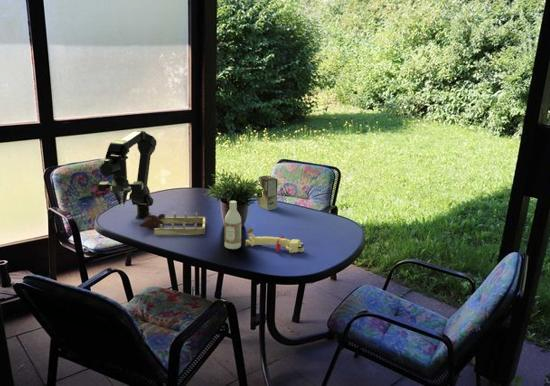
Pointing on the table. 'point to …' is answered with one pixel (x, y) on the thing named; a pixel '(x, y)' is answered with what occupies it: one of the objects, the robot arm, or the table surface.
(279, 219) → the table surface
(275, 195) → the coffee box
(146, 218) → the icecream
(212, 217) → the table surface
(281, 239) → the yellow toy animal
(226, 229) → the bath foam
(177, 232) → the dish rack
